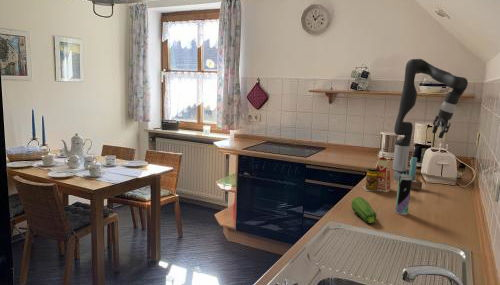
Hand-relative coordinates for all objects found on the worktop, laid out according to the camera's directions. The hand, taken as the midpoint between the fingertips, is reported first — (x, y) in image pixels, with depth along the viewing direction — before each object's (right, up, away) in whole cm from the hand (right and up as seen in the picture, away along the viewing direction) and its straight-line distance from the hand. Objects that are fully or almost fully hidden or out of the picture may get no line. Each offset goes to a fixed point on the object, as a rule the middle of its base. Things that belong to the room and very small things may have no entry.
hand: (436, 135), depth 231 cm
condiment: (-46, -30, -18) cm, 58 cm away
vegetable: (-62, -38, -62) cm, 96 cm away
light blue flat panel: (-19, -28, -5) cm, 34 cm away
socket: (-19, -31, -12) cm, 38 cm away
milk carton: (-39, -30, -16) cm, 52 cm away
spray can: (-43, -37, -54) cm, 78 cm away
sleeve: (-19, -28, +5) cm, 34 cm away
